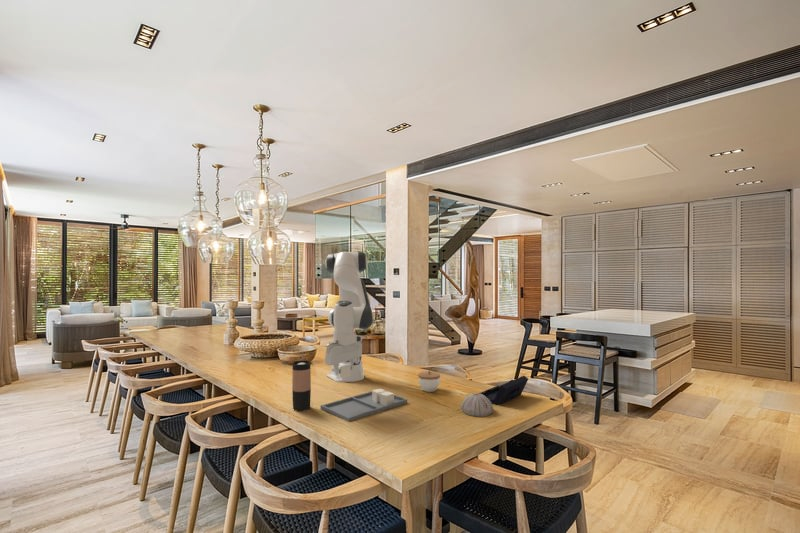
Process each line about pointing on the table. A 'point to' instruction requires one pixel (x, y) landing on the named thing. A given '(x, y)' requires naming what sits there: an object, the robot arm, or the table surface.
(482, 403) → the sea urchin shell
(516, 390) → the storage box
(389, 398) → the limestone block
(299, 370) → the travel mug
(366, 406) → the divided tray
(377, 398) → the limestone block
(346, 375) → the limestone block
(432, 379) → the lidded jar
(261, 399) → the table surface
